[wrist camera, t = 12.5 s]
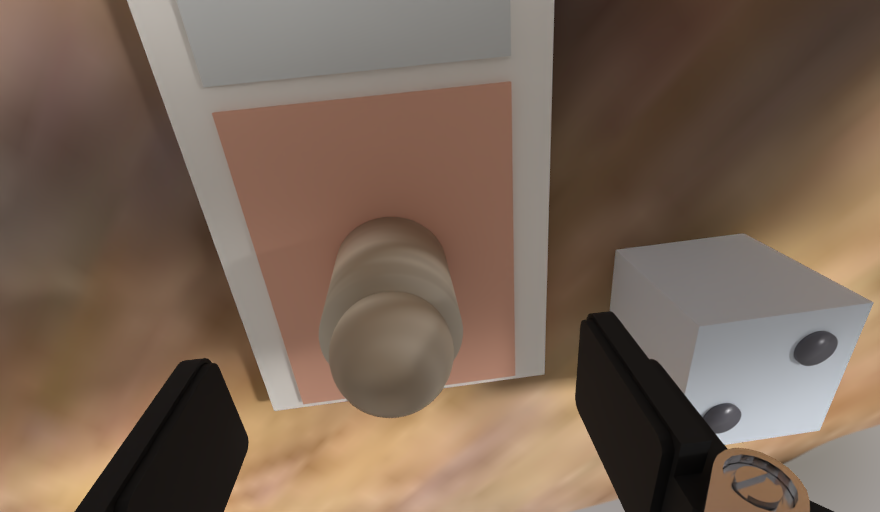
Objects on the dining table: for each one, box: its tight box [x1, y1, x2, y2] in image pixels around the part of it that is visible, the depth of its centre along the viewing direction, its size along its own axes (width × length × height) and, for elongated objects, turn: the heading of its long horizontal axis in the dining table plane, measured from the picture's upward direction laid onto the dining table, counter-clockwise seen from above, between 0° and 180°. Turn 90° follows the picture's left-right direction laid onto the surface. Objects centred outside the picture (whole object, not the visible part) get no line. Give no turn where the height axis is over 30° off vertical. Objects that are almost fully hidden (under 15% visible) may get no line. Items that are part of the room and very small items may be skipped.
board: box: [127, 0, 554, 411], centre depth 15 cm, size 13×28×1 cm, turn 6°
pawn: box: [319, 217, 463, 418], centre depth 14 cm, size 4×4×7 cm
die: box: [610, 233, 874, 445], centre depth 18 cm, size 6×6×6 cm
